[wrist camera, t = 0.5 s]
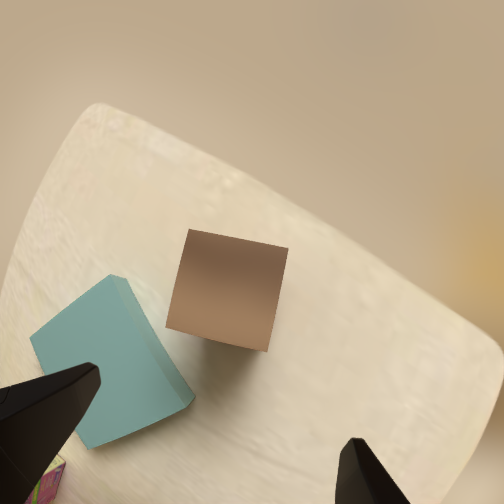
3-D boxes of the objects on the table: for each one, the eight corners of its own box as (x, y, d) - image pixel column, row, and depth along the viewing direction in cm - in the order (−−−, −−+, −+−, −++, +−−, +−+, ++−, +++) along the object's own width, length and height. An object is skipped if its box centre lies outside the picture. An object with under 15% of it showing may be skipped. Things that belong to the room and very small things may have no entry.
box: (56, 499, 18) (7, 532, 7) (26, 471, 19) (-26, 496, 7) (67, 461, 20) (4, 498, 8) (34, 429, 21) (-32, 453, 9)
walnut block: (266, 335, 22) (267, 352, 13) (206, 321, 23) (165, 327, 13) (278, 275, 23) (288, 248, 14) (219, 263, 24) (188, 228, 14)
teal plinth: (103, 439, 21) (88, 449, 18) (47, 336, 23) (29, 337, 20) (195, 396, 21) (186, 407, 19) (126, 278, 24) (110, 274, 21)
